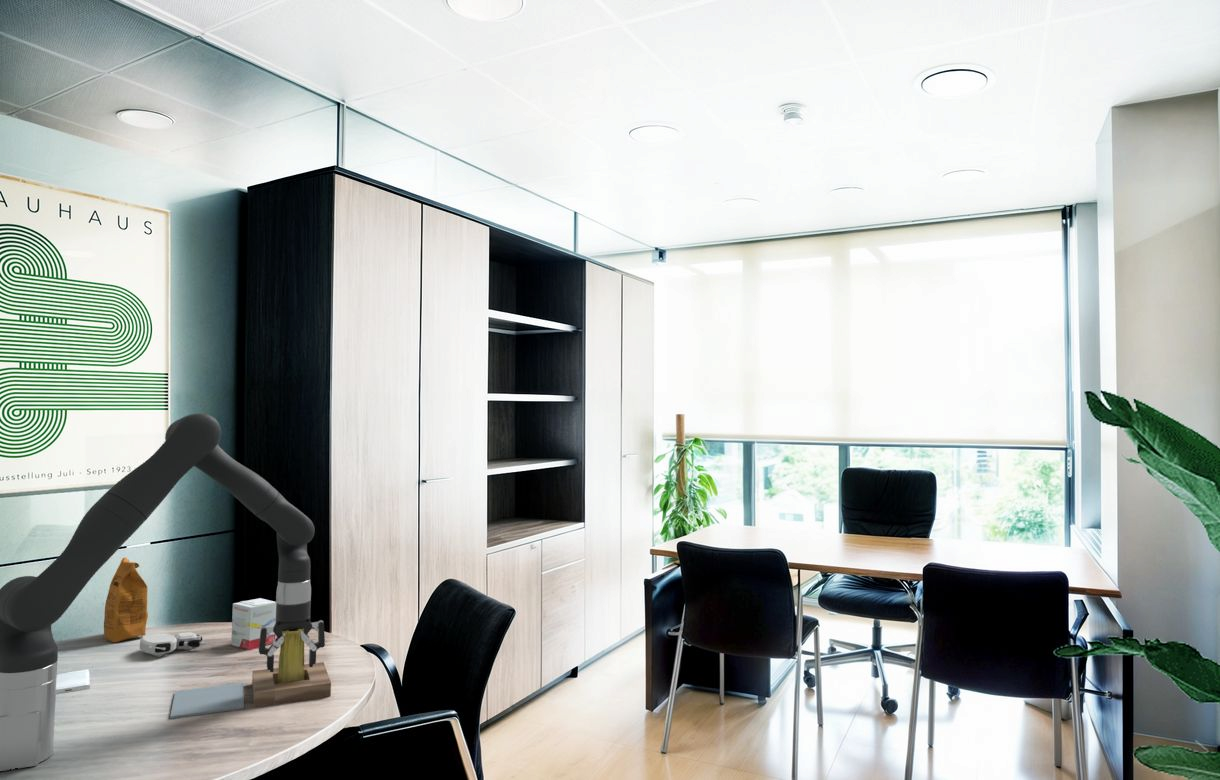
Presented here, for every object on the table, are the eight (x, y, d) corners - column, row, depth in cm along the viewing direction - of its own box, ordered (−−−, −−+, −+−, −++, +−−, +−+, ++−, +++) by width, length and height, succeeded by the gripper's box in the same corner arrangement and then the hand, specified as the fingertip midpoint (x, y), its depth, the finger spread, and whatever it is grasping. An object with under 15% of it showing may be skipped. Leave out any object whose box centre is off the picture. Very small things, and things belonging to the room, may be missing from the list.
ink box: (276, 643, 211) (277, 600, 211) (248, 650, 203) (249, 606, 204) (258, 637, 215) (259, 596, 216) (229, 645, 208) (231, 602, 208)
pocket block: (330, 695, 172) (331, 682, 172) (253, 706, 164) (254, 693, 164) (323, 674, 186) (323, 662, 186) (252, 683, 179) (252, 670, 179)
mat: (243, 708, 163) (243, 706, 163) (169, 718, 157) (170, 716, 157) (242, 684, 178) (242, 682, 178) (175, 693, 171) (175, 691, 171)
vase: (296, 683, 179) (298, 623, 180) (309, 689, 175) (311, 628, 176) (271, 689, 175) (273, 628, 175) (284, 696, 171) (286, 633, 171)
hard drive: (47, 675, 179) (46, 690, 169) (89, 668, 184) (90, 683, 174) (47, 682, 179) (45, 698, 169) (89, 675, 184) (89, 690, 174)
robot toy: (194, 644, 212) (133, 650, 201) (196, 627, 212) (136, 633, 202) (207, 654, 203) (144, 661, 192) (209, 637, 203) (146, 644, 193)
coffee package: (139, 629, 222) (142, 554, 223) (149, 638, 213) (152, 560, 214) (99, 635, 215) (102, 558, 216) (108, 645, 206) (111, 565, 207)
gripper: (261, 606, 169) (258, 678, 169) (327, 599, 176) (325, 669, 175) (259, 598, 176) (257, 668, 175) (324, 593, 183) (322, 659, 182)
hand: (291, 668), depth 175 cm, fingers open, 8 cm apart
